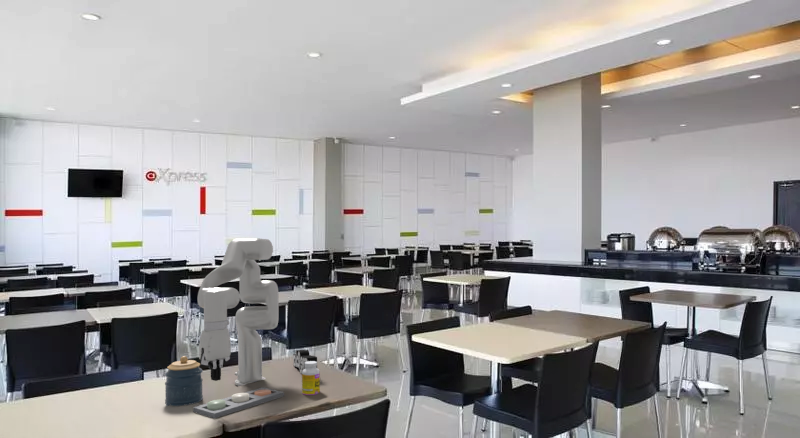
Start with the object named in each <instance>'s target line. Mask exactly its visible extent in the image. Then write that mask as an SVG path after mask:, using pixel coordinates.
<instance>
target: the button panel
mask: <svg viewBox="0 0 800 438" xmlns="http://www.w3.org/2000/svg"><path fill="white" fill-rule="evenodd" d="M265 389H266V390H271V394H268V395H265V396H262V397H261V396H257V395H254V392H255V391H258V390H265ZM244 393H248V394H249V400H248V401H245V402H242V403H235V402H232V395H231V396H227V397H224V398H220V400H225V401H226V407H225V408H222V409H219V410H216V411H212V410H208V409H207V403H204V404H200V405H197V406H193V408H192V410H193V411H192V412H193V413H196V414H199V415H202V416H205V417H209V418H212V419H217V418H219V417H220V418H221V417H223V416H227V415H230V414H232V413H236V412H238V411H241V410H245V409H247V408H251V407H254V406H258V405H261V404H264V403H267V402H270V401H273V400H276V399H279V398H283V397H285V392H284V391H280V390H277V389H272V388H269V387H260V388H256V389H252V390H249V391H245V392H244Z"/></svg>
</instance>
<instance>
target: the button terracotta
mask: <svg viewBox="0 0 800 438" xmlns="http://www.w3.org/2000/svg"><path fill="white" fill-rule="evenodd" d="M268 394H271V390H266V389H265V390H258V391H255V392H254V395H257V396H261V397H262V396H265V395H268Z"/></svg>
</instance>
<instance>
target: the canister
mask: <svg viewBox="0 0 800 438" xmlns="http://www.w3.org/2000/svg"><path fill="white" fill-rule="evenodd" d="M200 366H201V362H197V360H194V359H189V358H188V357H187V356H186V355H183V356H181V357H180V359H179V360H178V361H174V362H171V364H169V365H168V366H167V371H166V372H165V373H164V375H165V377H166V380H165V382H164V385H165V398H164V401H165V403H164V404H165V407H168V406H172V407H179V406H181V407H182V406H189V405H194V404H197V403H200V402H201V401H203V399H204V395H203V382H204V381H203V380H204V379H203V377H202V373H203V371H204V370H203V369H202V368H201V367H200Z"/></svg>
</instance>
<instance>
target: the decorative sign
mask: <svg viewBox="0 0 800 438" xmlns="http://www.w3.org/2000/svg"><path fill="white" fill-rule="evenodd" d="M294 352H295V353H292V359H293V362H292V363H293V367H294V368H298V369H299V374H300V375H302V371H303V370H304V369H305V362H308V361H316V362H317V363H318V356H315V355H310V351H309V349H299V350H295V351H294ZM316 368H318V365H317V366H316Z"/></svg>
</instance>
